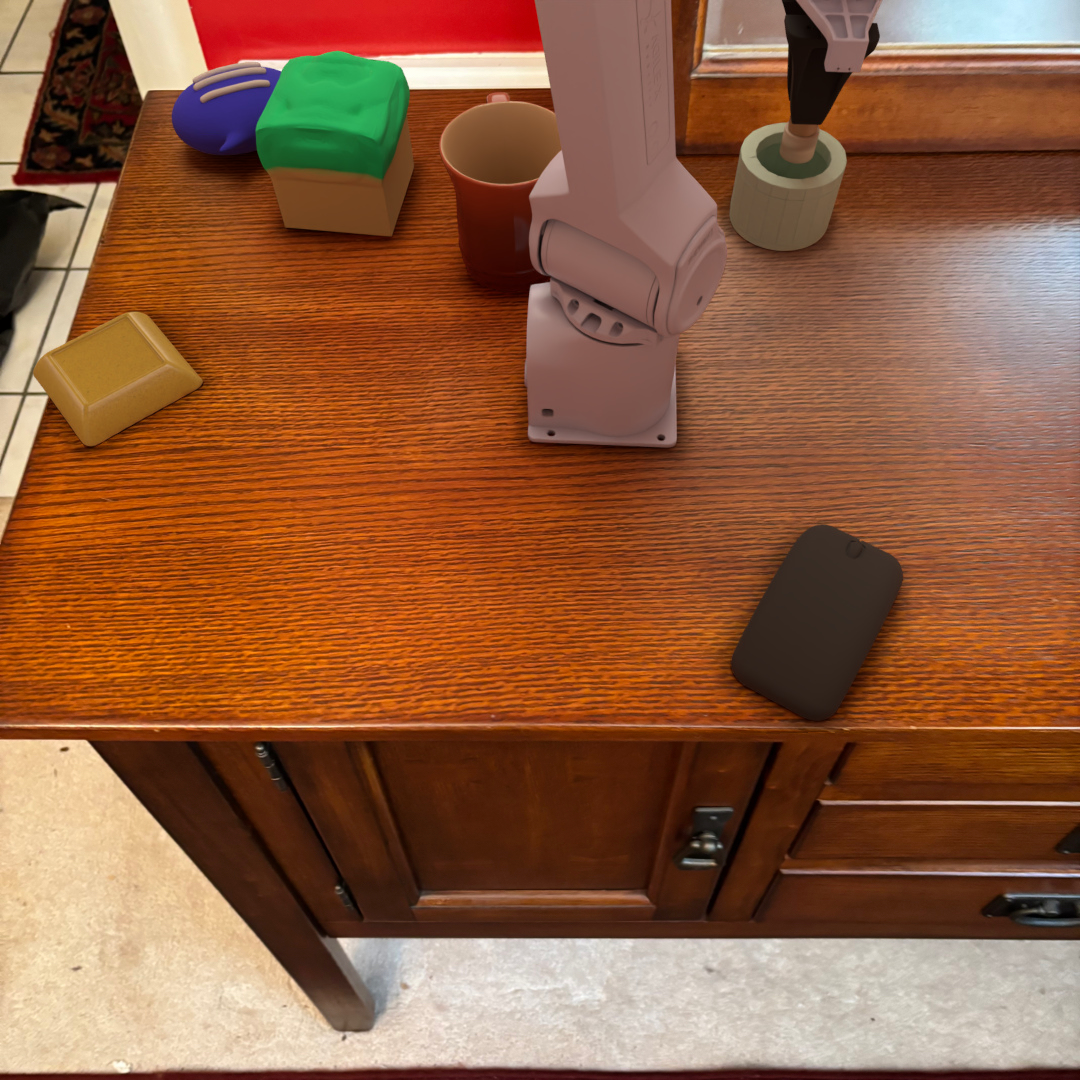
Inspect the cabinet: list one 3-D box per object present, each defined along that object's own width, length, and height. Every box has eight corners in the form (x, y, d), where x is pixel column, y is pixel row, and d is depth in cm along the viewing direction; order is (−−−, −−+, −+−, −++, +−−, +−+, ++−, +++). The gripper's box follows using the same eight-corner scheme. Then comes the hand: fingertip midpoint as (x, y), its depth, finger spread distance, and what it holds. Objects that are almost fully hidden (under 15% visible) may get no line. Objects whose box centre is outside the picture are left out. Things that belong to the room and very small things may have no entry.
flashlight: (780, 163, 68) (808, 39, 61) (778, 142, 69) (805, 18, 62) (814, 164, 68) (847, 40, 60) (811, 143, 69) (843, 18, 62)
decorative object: (155, 99, 70) (163, 58, 77) (177, 179, 74) (183, 133, 81) (303, 86, 72) (297, 47, 79) (316, 165, 75) (310, 121, 83)
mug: (579, 301, 69) (583, 179, 60) (456, 313, 69) (442, 191, 60) (559, 192, 75) (559, 67, 67) (446, 201, 75) (432, 77, 66)
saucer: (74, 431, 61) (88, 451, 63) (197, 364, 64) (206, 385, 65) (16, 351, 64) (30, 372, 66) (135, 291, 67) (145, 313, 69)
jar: (731, 249, 72) (743, 187, 67) (727, 184, 76) (738, 120, 71) (832, 252, 71) (852, 190, 67) (823, 187, 75) (841, 123, 71)
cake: (428, 153, 78) (412, 31, 69) (399, 244, 72) (379, 123, 64) (309, 144, 79) (280, 22, 70) (272, 233, 73) (235, 112, 64)
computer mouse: (905, 576, 57) (928, 539, 53) (827, 730, 52) (846, 700, 48) (806, 528, 59) (821, 489, 55) (721, 672, 54) (732, 640, 50)
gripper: (951, -40, 50) (877, 181, 62) (912, -169, 58) (853, 49, 70) (814, -43, 51) (765, 178, 62) (792, -171, 58) (753, 46, 70)
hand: (804, 110), depth 66 cm, fingers closed on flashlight, 2 cm apart
